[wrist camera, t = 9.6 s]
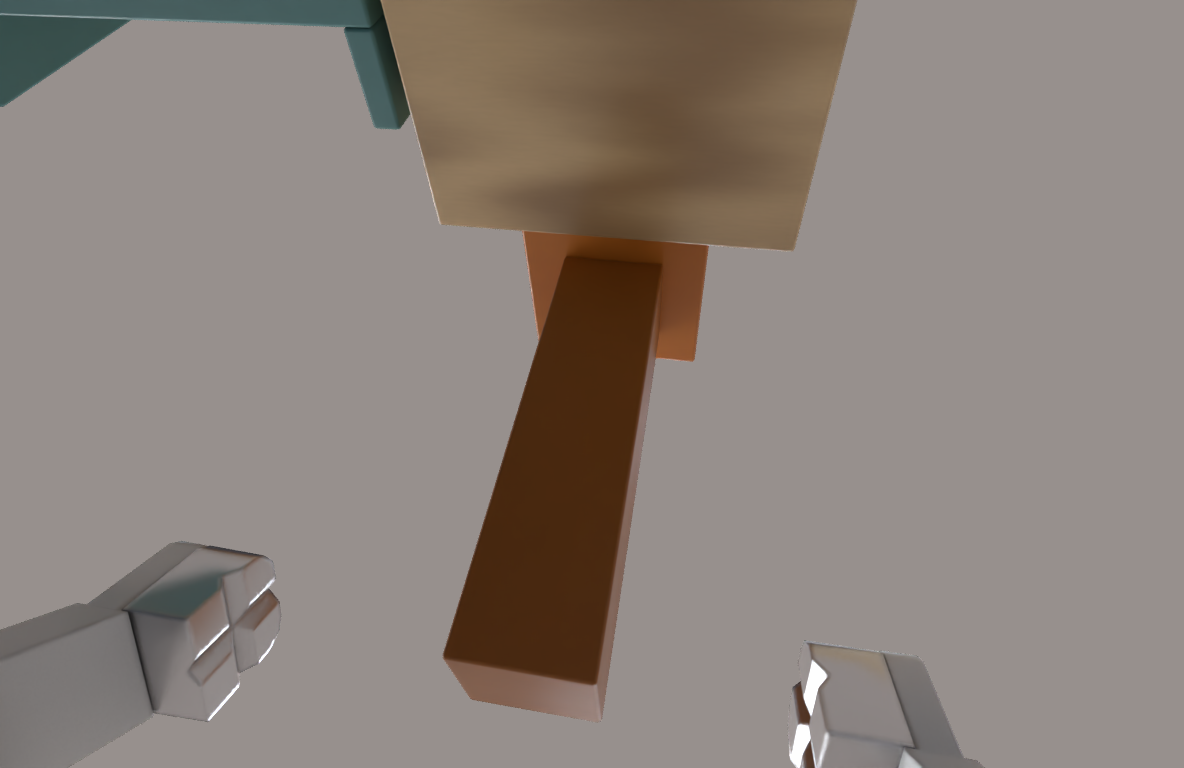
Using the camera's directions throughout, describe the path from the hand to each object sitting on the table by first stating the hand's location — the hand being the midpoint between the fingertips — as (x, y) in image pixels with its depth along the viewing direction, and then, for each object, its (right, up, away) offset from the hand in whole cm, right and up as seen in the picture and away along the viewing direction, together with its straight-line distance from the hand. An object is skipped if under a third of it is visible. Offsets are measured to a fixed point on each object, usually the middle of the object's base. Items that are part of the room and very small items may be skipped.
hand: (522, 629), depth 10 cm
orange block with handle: (+2, +8, +6) cm, 10 cm away
